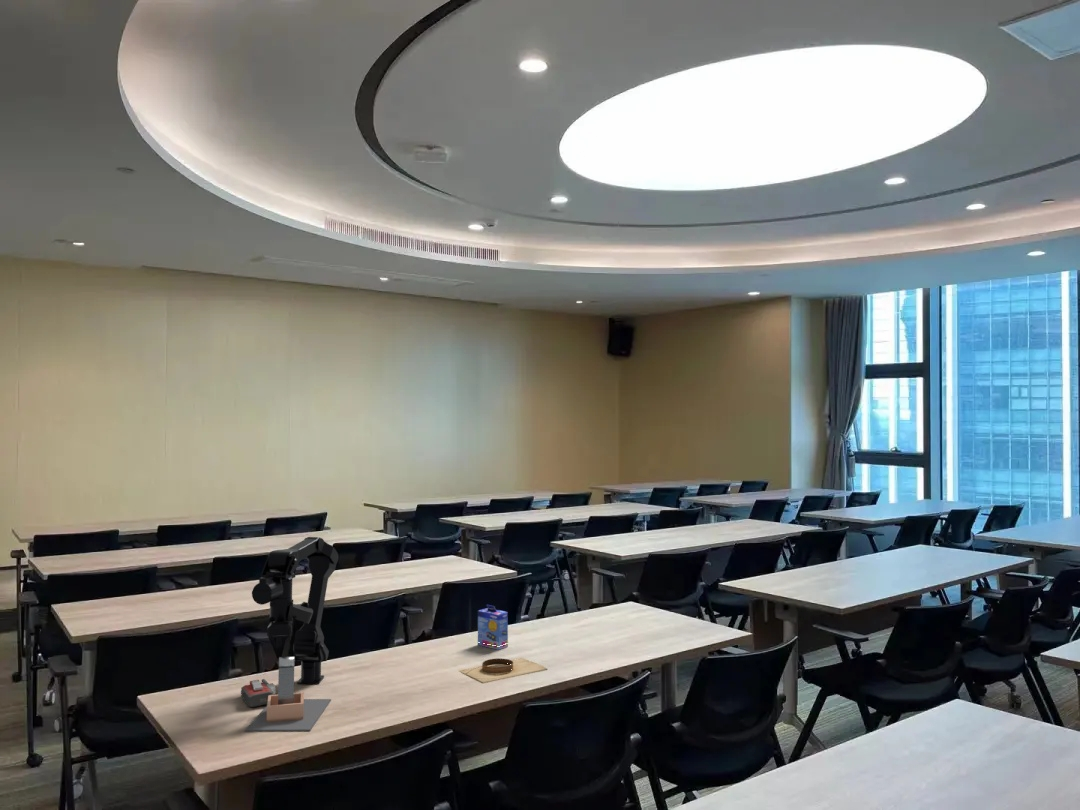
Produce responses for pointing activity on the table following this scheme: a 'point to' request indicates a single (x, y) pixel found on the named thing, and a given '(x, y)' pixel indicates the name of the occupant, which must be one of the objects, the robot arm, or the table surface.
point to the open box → (285, 709)
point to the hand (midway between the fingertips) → (279, 654)
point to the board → (502, 669)
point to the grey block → (286, 680)
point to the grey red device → (257, 692)
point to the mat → (310, 717)
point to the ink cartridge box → (492, 627)
